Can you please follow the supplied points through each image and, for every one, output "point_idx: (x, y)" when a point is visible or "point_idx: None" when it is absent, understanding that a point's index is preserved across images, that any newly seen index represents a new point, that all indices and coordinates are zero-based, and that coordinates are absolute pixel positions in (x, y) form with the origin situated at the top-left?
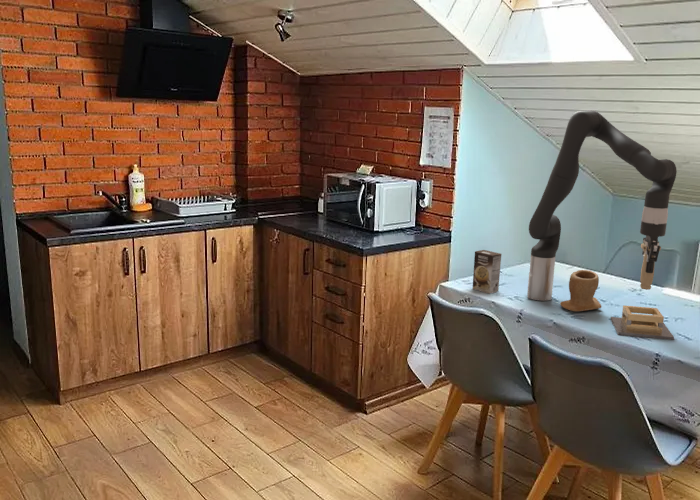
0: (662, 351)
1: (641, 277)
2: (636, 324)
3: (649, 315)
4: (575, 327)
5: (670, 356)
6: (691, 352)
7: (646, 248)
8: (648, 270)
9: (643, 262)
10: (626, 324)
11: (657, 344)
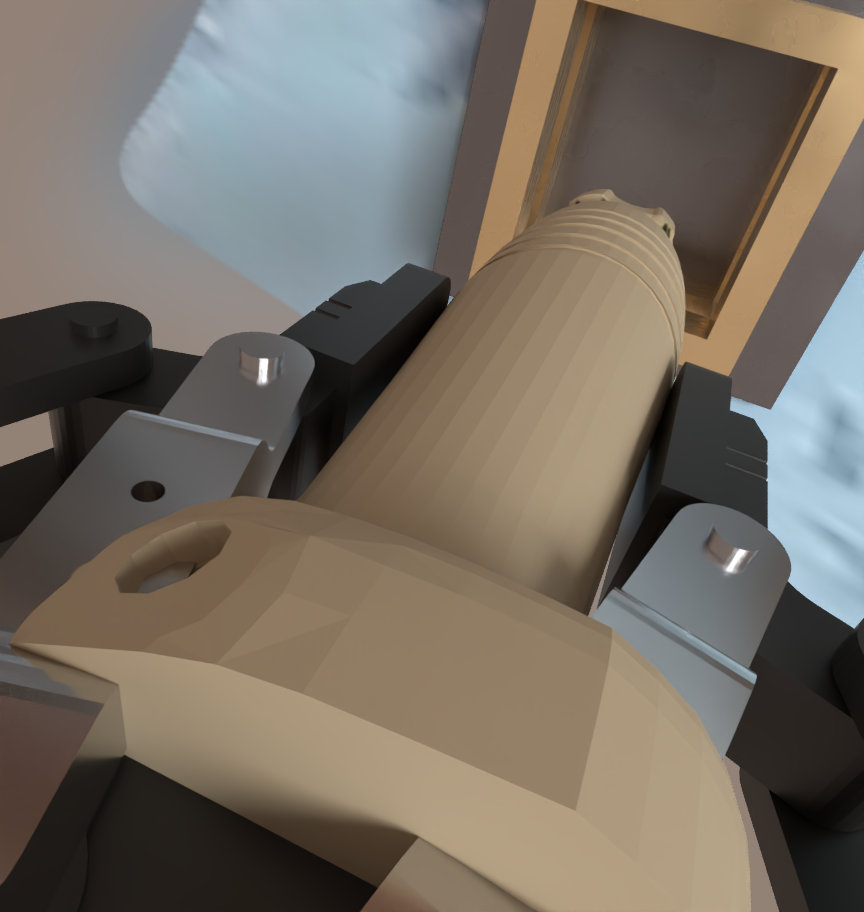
0: (231, 81)
1: (582, 222)
2: (724, 133)
3: (514, 182)
4: None
5: (164, 92)
6: (253, 267)
7: (44, 546)
8: (347, 297)
9: (503, 342)
10: None
11: (348, 114)
